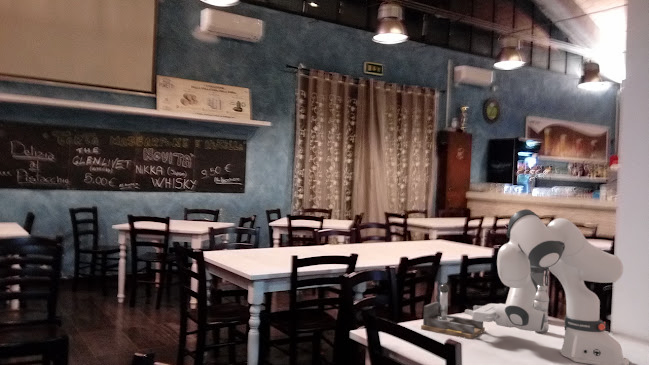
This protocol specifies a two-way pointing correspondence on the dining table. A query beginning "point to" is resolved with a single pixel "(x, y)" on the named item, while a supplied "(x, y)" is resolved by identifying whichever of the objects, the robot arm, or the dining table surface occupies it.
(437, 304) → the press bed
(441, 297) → the press sled
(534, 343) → the dining table surface
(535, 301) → the plastic bottle
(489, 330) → the dining table surface
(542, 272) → the water bottle
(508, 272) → the robot arm
